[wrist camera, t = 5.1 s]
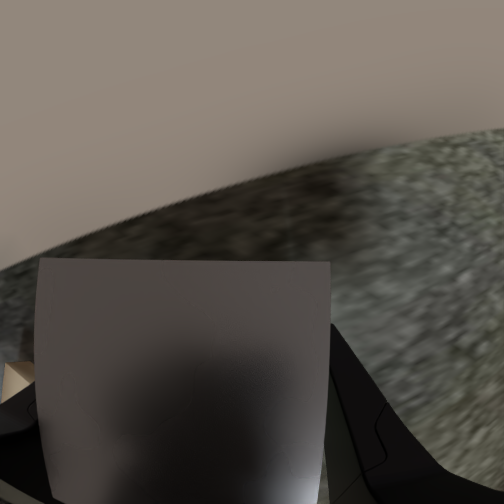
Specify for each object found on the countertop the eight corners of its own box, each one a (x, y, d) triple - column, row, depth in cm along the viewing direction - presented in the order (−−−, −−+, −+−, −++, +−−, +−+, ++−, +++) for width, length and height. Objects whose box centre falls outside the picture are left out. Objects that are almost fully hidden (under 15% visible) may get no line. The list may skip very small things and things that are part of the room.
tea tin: (297, 304, 16) (330, 261, 4) (294, 401, 15) (307, 553, 3) (199, 302, 17) (40, 257, 5) (197, 396, 15) (53, 497, 4)
